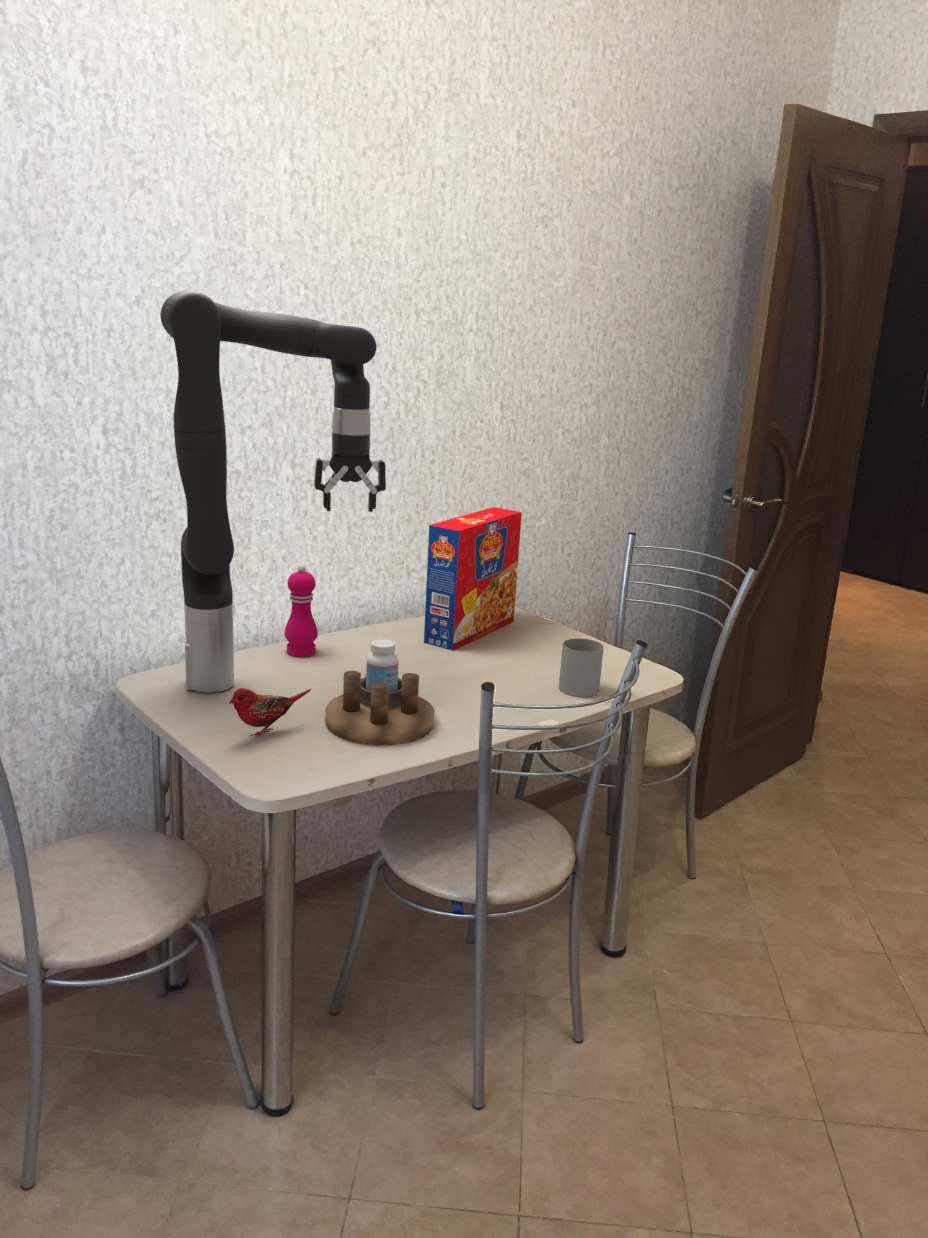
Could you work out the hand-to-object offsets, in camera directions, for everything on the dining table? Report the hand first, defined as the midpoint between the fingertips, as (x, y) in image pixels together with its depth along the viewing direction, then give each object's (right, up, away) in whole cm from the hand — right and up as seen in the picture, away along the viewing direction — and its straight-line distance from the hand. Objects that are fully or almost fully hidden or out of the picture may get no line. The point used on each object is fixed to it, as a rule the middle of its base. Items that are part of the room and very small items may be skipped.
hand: (349, 510), depth 208 cm
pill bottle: (+7, -37, -11) cm, 40 cm away
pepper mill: (-13, -30, +18) cm, 37 cm away
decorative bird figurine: (-12, -43, -22) cm, 49 cm away
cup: (+47, -37, +6) cm, 60 cm away
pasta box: (+25, -25, +38) cm, 52 cm away
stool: (+8, -41, -16) cm, 45 cm away
